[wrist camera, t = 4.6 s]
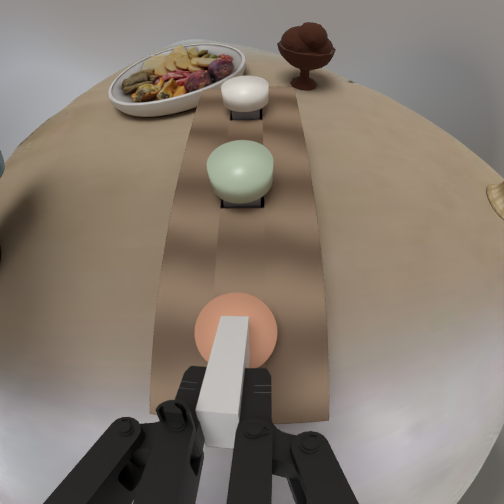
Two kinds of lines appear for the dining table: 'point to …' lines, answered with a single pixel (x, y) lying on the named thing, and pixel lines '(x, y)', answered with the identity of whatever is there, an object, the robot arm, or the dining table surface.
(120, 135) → the dining table surface
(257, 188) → the sage button
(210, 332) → the terracotta button
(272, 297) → the console
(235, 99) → the cream button
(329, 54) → the ice cream bowl
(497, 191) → the hand bell
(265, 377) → the robot arm
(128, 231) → the dining table surface
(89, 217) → the dining table surface
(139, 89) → the bowl
